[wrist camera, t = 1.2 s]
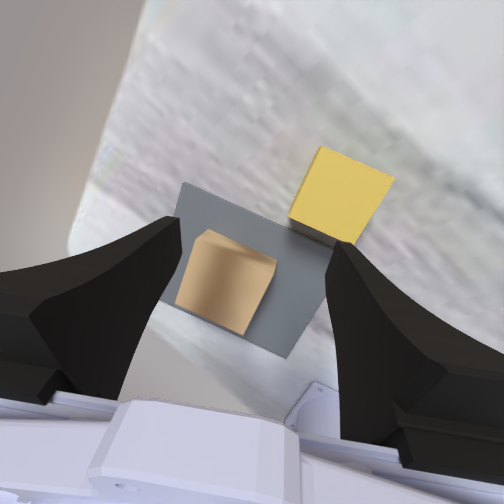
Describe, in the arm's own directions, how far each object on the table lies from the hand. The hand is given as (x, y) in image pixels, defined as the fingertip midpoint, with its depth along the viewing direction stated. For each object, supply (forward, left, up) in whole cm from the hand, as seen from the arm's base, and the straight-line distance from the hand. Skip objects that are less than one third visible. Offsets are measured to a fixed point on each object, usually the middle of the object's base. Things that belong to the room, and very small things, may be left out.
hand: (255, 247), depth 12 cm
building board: (0, +8, -11) cm, 14 cm away
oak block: (+1, +8, -11) cm, 14 cm away
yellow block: (-4, -3, -11) cm, 12 cm away
